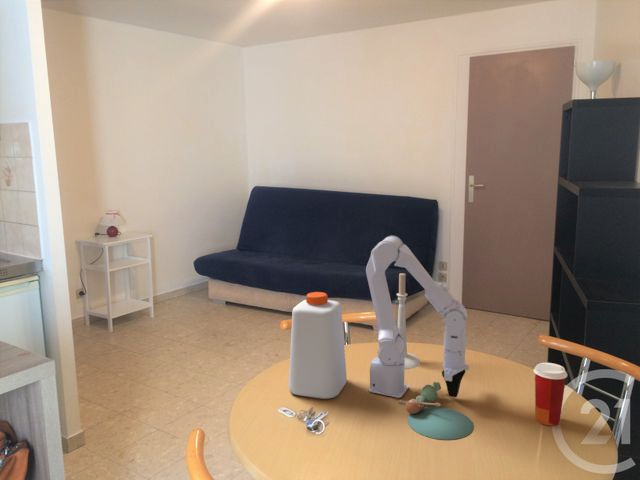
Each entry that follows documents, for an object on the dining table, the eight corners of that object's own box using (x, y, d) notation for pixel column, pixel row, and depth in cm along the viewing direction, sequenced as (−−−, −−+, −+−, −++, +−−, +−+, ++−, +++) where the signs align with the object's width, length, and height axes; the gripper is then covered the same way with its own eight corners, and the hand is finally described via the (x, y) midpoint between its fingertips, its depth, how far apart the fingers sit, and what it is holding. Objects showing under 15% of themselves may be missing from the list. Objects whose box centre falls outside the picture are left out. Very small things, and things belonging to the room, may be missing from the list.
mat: (399, 430, 129) (399, 429, 129) (418, 403, 143) (418, 402, 143) (465, 446, 121) (465, 445, 121) (478, 415, 136) (478, 414, 135)
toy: (457, 379, 141) (428, 402, 130) (461, 395, 141) (432, 419, 130) (416, 378, 150) (385, 399, 139) (419, 392, 150) (389, 415, 139)
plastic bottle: (335, 402, 144) (334, 303, 139) (284, 395, 148) (281, 299, 144) (350, 380, 158) (349, 289, 153) (303, 374, 162) (301, 286, 158)
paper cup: (562, 415, 135) (565, 363, 133) (565, 430, 128) (569, 375, 126) (529, 410, 138) (532, 360, 135) (531, 425, 130) (534, 371, 128)
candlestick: (425, 358, 174) (427, 269, 169) (415, 373, 162) (417, 278, 157) (387, 353, 179) (388, 266, 174) (376, 366, 167) (376, 275, 162)
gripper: (464, 360, 134) (462, 410, 136) (474, 342, 147) (472, 387, 149) (436, 356, 137) (435, 404, 139) (449, 338, 150) (448, 383, 152)
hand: (453, 395), depth 145 cm, fingers closed
